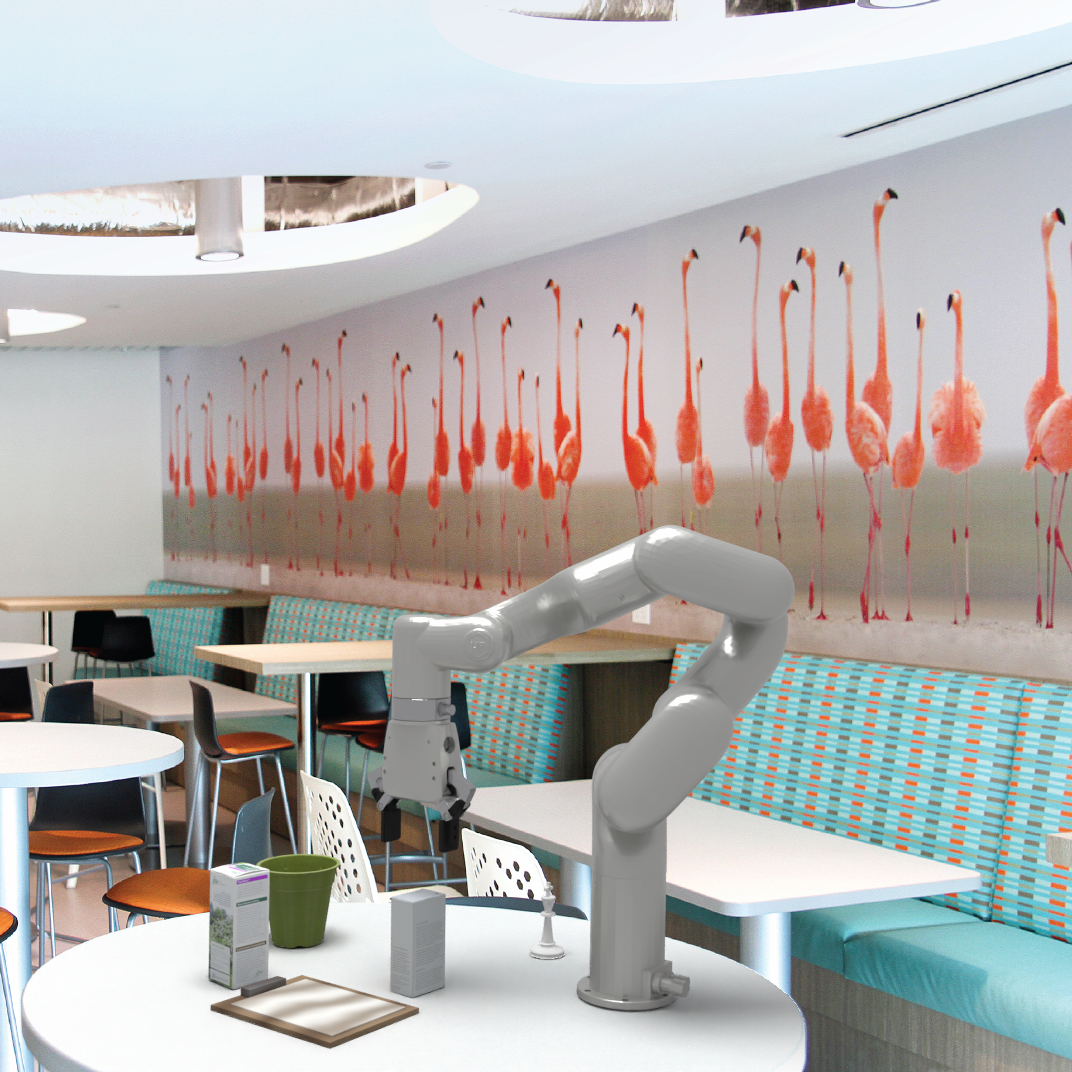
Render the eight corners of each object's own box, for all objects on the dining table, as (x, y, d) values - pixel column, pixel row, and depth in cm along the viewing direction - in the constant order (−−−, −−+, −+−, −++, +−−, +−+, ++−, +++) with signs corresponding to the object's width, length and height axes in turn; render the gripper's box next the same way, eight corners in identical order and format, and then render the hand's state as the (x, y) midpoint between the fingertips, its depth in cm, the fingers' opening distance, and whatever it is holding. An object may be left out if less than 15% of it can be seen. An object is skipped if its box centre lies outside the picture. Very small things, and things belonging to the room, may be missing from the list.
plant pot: (270, 928, 192) (272, 852, 192) (348, 933, 190) (350, 855, 190) (241, 951, 180) (243, 869, 180) (324, 956, 178) (326, 874, 179)
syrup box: (270, 981, 167) (272, 867, 168) (230, 991, 163) (233, 874, 163) (244, 971, 171) (247, 860, 172) (205, 980, 167) (208, 867, 167)
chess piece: (571, 953, 182) (572, 881, 182) (552, 962, 178) (554, 888, 178) (541, 947, 185) (543, 876, 185) (522, 955, 181) (524, 883, 181)
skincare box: (421, 980, 169) (423, 887, 169) (445, 987, 166) (447, 893, 166) (387, 991, 164) (390, 895, 164) (411, 998, 161) (414, 901, 162)
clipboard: (418, 1012, 156) (419, 999, 156) (329, 1048, 144) (330, 1033, 144) (301, 979, 168) (302, 967, 168) (210, 1009, 156) (210, 996, 156)
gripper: (492, 713, 164) (490, 850, 164) (390, 704, 174) (388, 832, 174) (454, 718, 158) (453, 860, 157) (351, 708, 168) (349, 841, 168)
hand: (419, 845), depth 166 cm, fingers open, 9 cm apart
